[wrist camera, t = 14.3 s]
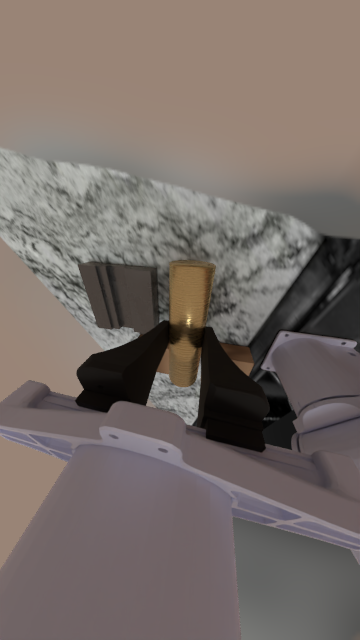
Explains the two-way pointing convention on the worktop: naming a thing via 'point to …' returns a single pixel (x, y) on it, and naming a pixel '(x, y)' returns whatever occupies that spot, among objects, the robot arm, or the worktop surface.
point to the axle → (188, 317)
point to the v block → (122, 295)
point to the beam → (236, 354)
